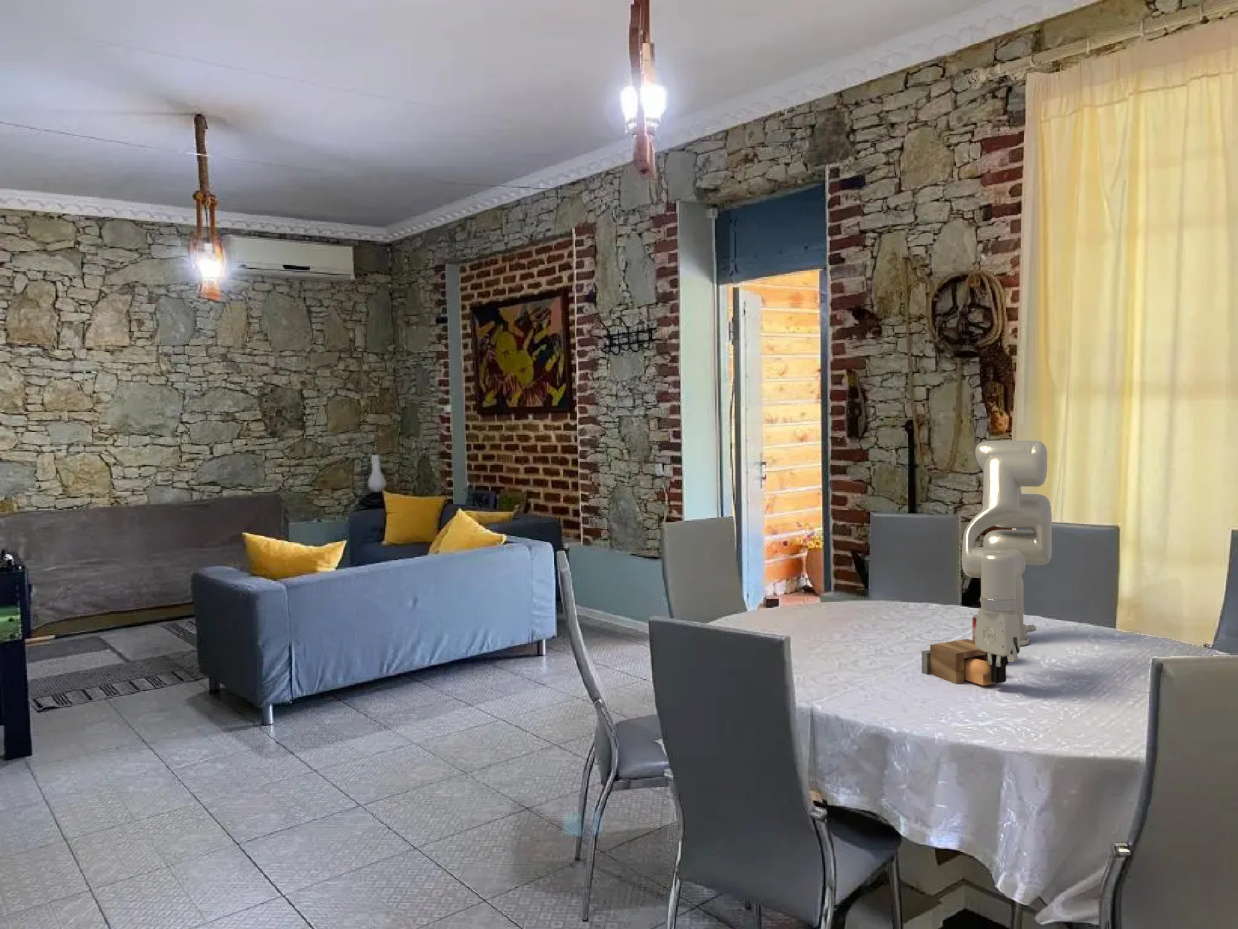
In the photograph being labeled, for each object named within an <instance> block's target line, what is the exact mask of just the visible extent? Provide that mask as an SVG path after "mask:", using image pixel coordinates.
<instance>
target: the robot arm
mask: <svg viewBox="0 0 1238 929" xmlns="http://www.w3.org/2000/svg"><path fill="white" fill-rule="evenodd" d="M974 452H975V454H974V455H975V458H976V459H975V460H976V462H977V464H978V465H979V467H980V468H981V470H982V471H983V481H982V483H983V484H982V485H983V486H982V487H983V489H982V509H981V510H980V511H979V512H978V513H977V514H976V515H975V516H974V517H973V518H972V519H971V520H970V522H968V524H967V526H966V527H965V530H964V532H963V536H962V546H961V550H962V551H961V568H962V571H963V573H964V574H965V575H966V576H967V577H970V578H977V579H979V578H980V597H979V602H980V608H978V611H977V614H976V615H977V620H976V629H975V646H976V648H977V649H979V650H980V652H981V653H982V654H984V655H986V657H987V658H988V663H989V664H990V665H991V682H994V683H995V684H1001V683H1002V684H1003V683H1006V682H1007V666H1009V664H1010V663H1015V662H1018V661H1019V658H1018V655H1019V653H1020V651H1021V646H1022V647H1023V646H1027V645H1029V644H1030V642H1031V641H1030V640H1031V639H1030V637H1029V636H1028V635H1027V634H1028V633H1032V632H1035V631H1036V630H1037V627H1036V625H1035V624H1028V625H1027V624H1025V623H1024V579H1023V577H1022V575H1023V574H1024V573H1025V570H1026V566H1028V565H1029V566H1044V565H1047V564H1048V563H1049V562H1050V561H1051V559H1052V553H1053V540H1052V539H1053V534H1052V532H1053V531H1052V528H1053V527H1052V526H1053V525H1052V524H1053V523H1052V522H1053V521H1052V518H1053V517H1052V506H1051V502H1050V500H1049V499H1048V497H1047V496H1045V495H1044V494H1041V493H1040V494H1039V493H1022V487H1030V488H1031V487H1035V488H1037V487H1038V488H1039V487H1041V486H1043V485H1044V483H1045V481H1046V479H1047V473H1048V450H1047V447H1046V445H1045V443H1043V441H1041V440H986V441H982V442H979V443H978V444H977V445H976V447H975V451H974ZM992 527H996V528H997V527H998V528H1003V529H995V530H991V531H988V532H987V533H986V534H985V535H984V537H983V540H982V541H983V543H982V545H983V547H982V546H980V547H979V546H975V541H976V538H977V537H978V536H979V535H980V534H981V533H982V532H984V531H986V530H987V529H989V528H992ZM1020 529H1024V530H1020ZM1026 529H1031V530H1026Z"/></svg>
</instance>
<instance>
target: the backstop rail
mask: <svg viewBox="0 0 1238 929" xmlns="http://www.w3.org/2000/svg"><path fill="white" fill-rule="evenodd" d="M921 674H924V675H926V676H928V675H931V674H930V649H928V650H927V649H926V650H922V651H921Z"/></svg>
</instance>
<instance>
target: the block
mask: <svg viewBox="0 0 1238 929" xmlns="http://www.w3.org/2000/svg"><path fill="white" fill-rule="evenodd" d="M929 650H930V674H929V675H931V676H934V677H937V678H940V679H942V680H944V681H945V680H946V681H948V682H950V683H953V684H955V685H957V684H963V683H965V680H964V658H968V657H972V658H976V659H979V660H983V661H987V662H988V658H987V657H986V655H984V654H982V653H981V652H980V650H979V649H977V648H976V646H975V641H973V640H972V639H969V638H964V639H958V640H952V641H946V642H939V643H932V644H929Z"/></svg>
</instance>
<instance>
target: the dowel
mask: <svg viewBox="0 0 1238 929" xmlns="http://www.w3.org/2000/svg"><path fill="white" fill-rule="evenodd" d="M964 681H968V682H970V683H973V684H978V685H980V686H988V685H992V684H993V685H994V684H996V683H994V682H991V665H990V664H989V663H988V662H987V661H983V660H979V659H976V658H972V657H968V658H964Z"/></svg>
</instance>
